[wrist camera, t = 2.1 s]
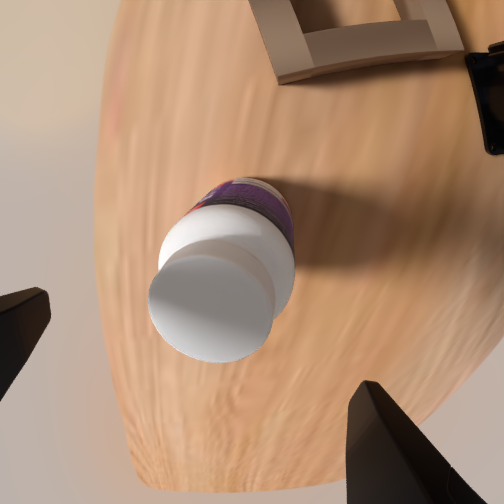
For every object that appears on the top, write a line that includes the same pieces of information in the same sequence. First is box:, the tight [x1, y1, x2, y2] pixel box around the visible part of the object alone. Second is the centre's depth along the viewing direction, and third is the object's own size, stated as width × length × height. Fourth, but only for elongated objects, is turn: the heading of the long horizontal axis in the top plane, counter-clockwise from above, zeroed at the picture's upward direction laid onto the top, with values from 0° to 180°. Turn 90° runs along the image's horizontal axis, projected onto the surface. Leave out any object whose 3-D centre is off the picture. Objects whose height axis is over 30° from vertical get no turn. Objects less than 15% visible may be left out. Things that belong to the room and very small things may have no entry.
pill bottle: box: [148, 178, 295, 363], centre depth 14 cm, size 5×5×10 cm
